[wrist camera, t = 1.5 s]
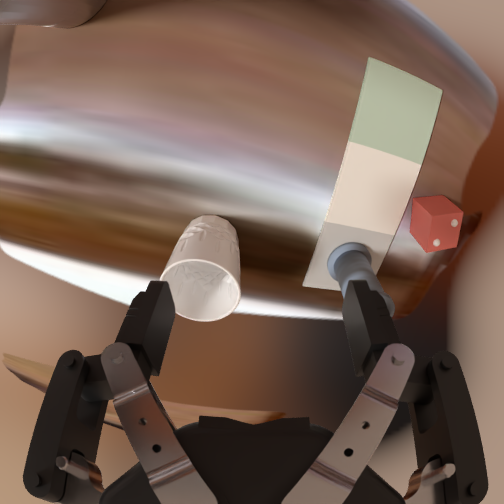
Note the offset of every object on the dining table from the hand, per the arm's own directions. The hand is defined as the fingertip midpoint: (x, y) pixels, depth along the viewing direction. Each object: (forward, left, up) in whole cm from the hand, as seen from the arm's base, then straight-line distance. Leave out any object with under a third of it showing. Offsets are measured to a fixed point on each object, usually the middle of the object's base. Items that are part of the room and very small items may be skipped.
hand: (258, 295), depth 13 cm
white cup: (-4, -10, -21) cm, 24 cm away
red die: (+23, -1, -21) cm, 31 cm away
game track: (+14, 0, -21) cm, 25 cm away
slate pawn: (+14, -10, -21) cm, 27 cm away
